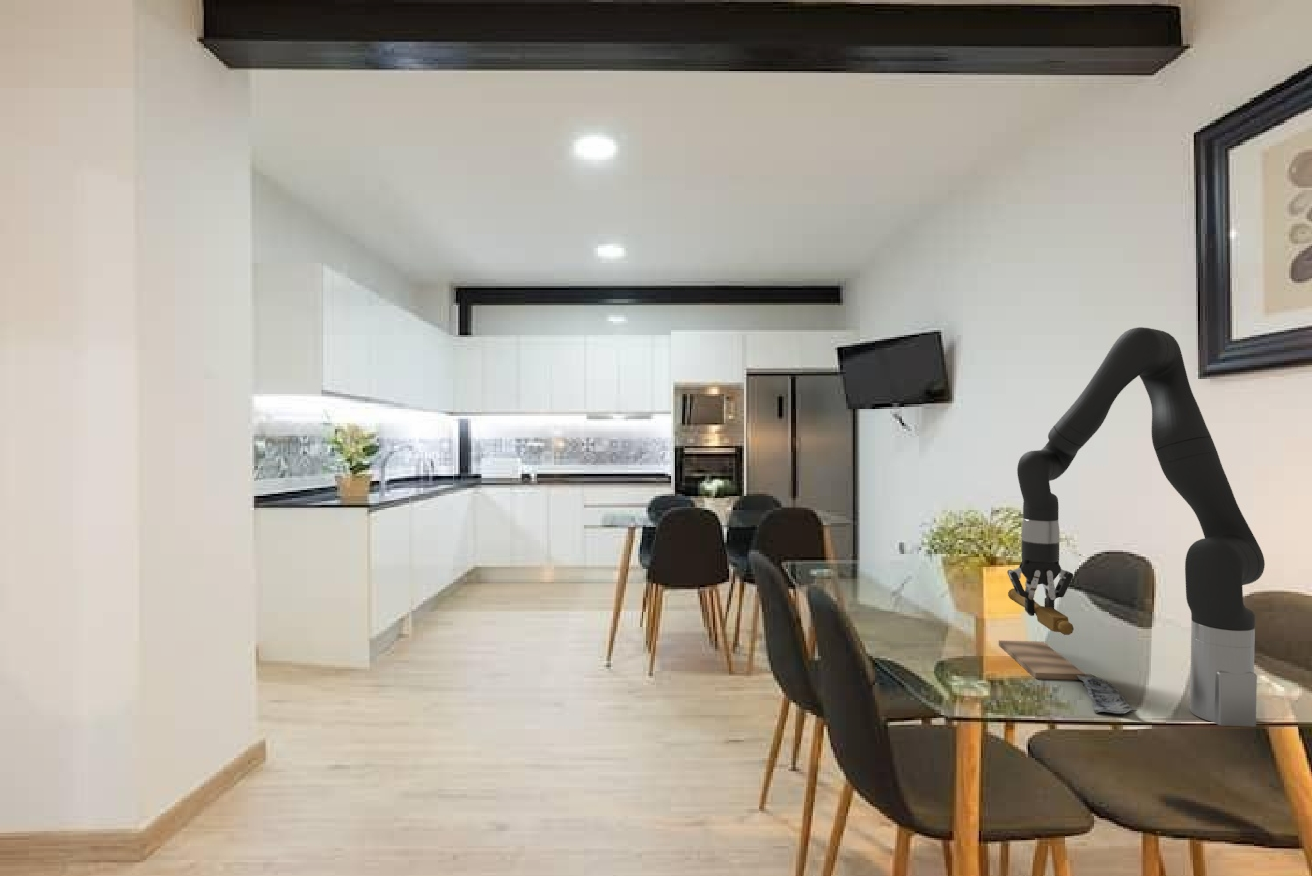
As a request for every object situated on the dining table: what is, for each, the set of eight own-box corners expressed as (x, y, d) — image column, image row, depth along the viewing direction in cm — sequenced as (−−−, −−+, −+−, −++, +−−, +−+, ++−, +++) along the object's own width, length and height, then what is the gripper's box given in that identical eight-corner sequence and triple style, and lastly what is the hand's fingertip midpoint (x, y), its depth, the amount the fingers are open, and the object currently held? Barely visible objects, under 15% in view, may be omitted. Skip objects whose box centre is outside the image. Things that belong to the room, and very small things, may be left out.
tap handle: (1020, 587, 179) (1076, 622, 149) (1020, 600, 179) (1076, 637, 149) (1007, 587, 180) (1060, 622, 150) (1007, 599, 180) (1060, 636, 150)
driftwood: (1072, 677, 155) (1072, 667, 155) (1109, 679, 153) (1108, 670, 153) (1095, 714, 136) (1095, 703, 136) (1137, 718, 134) (1137, 707, 134)
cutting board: (1085, 679, 153) (1085, 674, 153) (1035, 678, 154) (1035, 672, 154) (1042, 646, 175) (1042, 641, 175) (998, 645, 176) (998, 640, 176)
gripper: (1013, 541, 161) (1012, 619, 161) (1081, 542, 159) (1080, 620, 160) (1001, 535, 168) (1000, 609, 169) (1066, 536, 166) (1065, 611, 167)
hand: (1039, 614), depth 164 cm, fingers closed on tap handle, 3 cm apart
